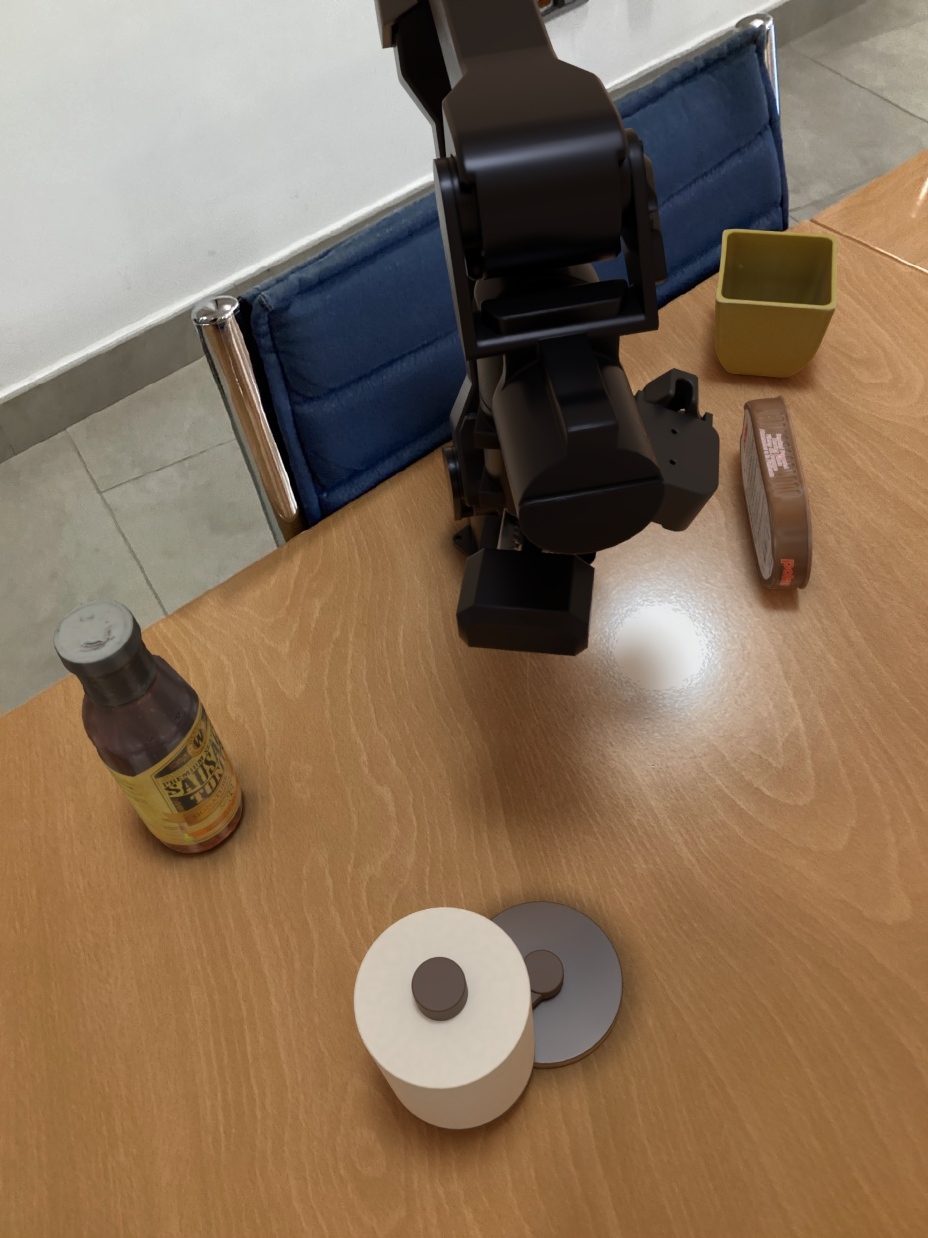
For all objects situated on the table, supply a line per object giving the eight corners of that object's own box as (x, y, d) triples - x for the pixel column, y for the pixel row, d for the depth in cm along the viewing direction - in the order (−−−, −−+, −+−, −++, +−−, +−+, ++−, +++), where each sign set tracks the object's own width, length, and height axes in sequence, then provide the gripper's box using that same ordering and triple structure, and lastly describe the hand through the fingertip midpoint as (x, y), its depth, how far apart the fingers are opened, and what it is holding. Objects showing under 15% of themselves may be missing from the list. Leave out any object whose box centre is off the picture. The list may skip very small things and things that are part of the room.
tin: (802, 612, 73) (828, 535, 66) (756, 614, 73) (776, 537, 66) (769, 453, 82) (789, 369, 75) (728, 454, 82) (743, 372, 75)
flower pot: (813, 399, 85) (837, 307, 77) (702, 389, 86) (715, 299, 79) (815, 326, 89) (838, 233, 82) (709, 318, 91) (723, 227, 84)
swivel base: (431, 979, 61) (429, 974, 60) (544, 876, 64) (544, 870, 63) (539, 1105, 57) (539, 1101, 56) (656, 989, 60) (657, 984, 59)
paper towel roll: (385, 1137, 55) (343, 1085, 44) (389, 962, 60) (352, 876, 49) (574, 1131, 55) (578, 1076, 44) (562, 955, 60) (563, 867, 49)
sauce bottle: (222, 869, 65) (111, 709, 49) (134, 842, 67) (-2, 677, 51) (266, 777, 69) (175, 598, 53) (181, 753, 70) (68, 572, 54)
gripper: (717, 556, 42) (679, 743, 55) (724, 260, 52) (691, 475, 65) (441, 536, 44) (467, 721, 56) (501, 252, 54) (512, 463, 67)
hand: (544, 586), depth 61 cm, fingers closed
